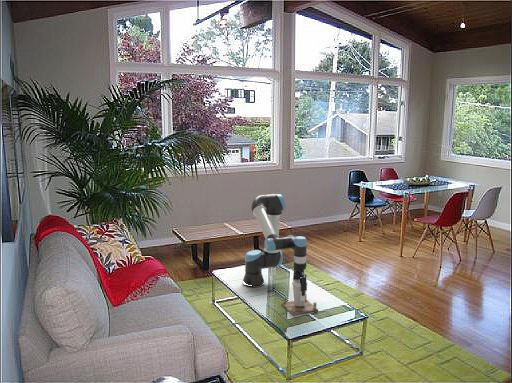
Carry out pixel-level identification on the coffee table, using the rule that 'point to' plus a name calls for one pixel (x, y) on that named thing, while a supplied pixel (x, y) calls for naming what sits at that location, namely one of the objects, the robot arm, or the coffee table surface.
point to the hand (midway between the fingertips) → (299, 297)
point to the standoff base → (299, 307)
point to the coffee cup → (297, 293)
